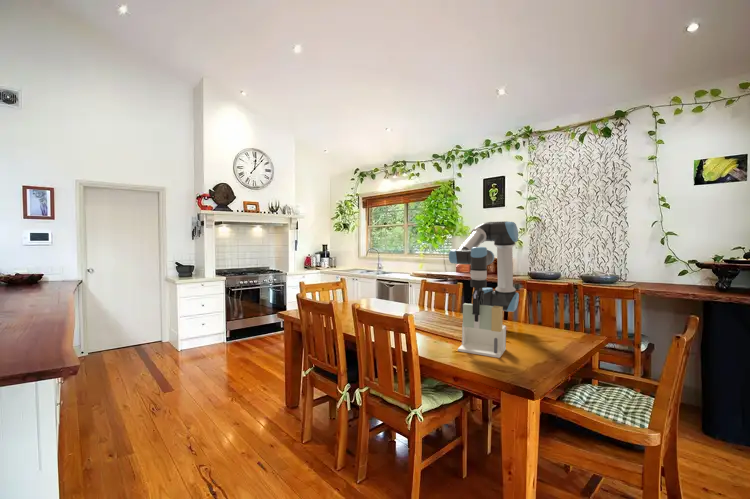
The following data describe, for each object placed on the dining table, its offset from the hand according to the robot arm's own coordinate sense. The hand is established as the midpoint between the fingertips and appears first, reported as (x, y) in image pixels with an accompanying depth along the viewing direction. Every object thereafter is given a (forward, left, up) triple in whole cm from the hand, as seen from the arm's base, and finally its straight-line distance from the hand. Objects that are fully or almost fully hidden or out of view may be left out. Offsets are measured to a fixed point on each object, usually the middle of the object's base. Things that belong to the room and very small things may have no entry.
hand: (477, 327), depth 178 cm
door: (0, +2, 0) cm, 2 cm away
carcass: (-4, +1, -12) cm, 13 cm away
